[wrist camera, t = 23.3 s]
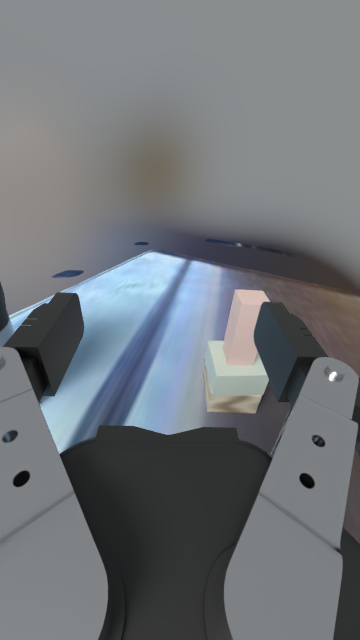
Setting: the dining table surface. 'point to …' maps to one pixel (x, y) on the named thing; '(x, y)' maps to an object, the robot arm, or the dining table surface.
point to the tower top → (233, 374)
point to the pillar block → (242, 327)
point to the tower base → (229, 401)
